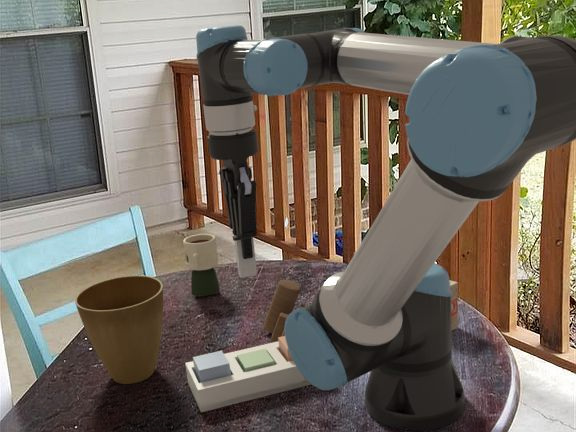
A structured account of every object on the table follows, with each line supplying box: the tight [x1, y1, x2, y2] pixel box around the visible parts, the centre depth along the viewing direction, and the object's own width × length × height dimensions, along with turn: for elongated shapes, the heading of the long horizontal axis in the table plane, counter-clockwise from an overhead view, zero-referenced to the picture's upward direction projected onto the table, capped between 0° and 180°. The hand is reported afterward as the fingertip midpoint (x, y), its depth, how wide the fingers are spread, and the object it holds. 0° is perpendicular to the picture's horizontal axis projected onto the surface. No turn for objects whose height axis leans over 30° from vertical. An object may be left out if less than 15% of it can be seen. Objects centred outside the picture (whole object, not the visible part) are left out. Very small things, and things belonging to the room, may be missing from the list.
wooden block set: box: [263, 279, 306, 343], centre depth 139 cm, size 18×9×10 cm, turn 172°
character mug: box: [182, 233, 221, 297], centre depth 163 cm, size 11×7×13 cm, turn 174°
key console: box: [185, 342, 312, 413], centre depth 124 cm, size 10×22×4 cm, turn 109°
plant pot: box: [74, 274, 164, 385], centre depth 129 cm, size 15×15×16 cm
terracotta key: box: [278, 336, 293, 362], centre depth 126 cm, size 5×5×4 cm
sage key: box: [237, 349, 274, 372], centre depth 124 cm, size 5×5×4 cm
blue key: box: [192, 350, 231, 383], centre depth 122 cm, size 5×5×4 cm
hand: (247, 274), depth 119 cm, fingers closed
